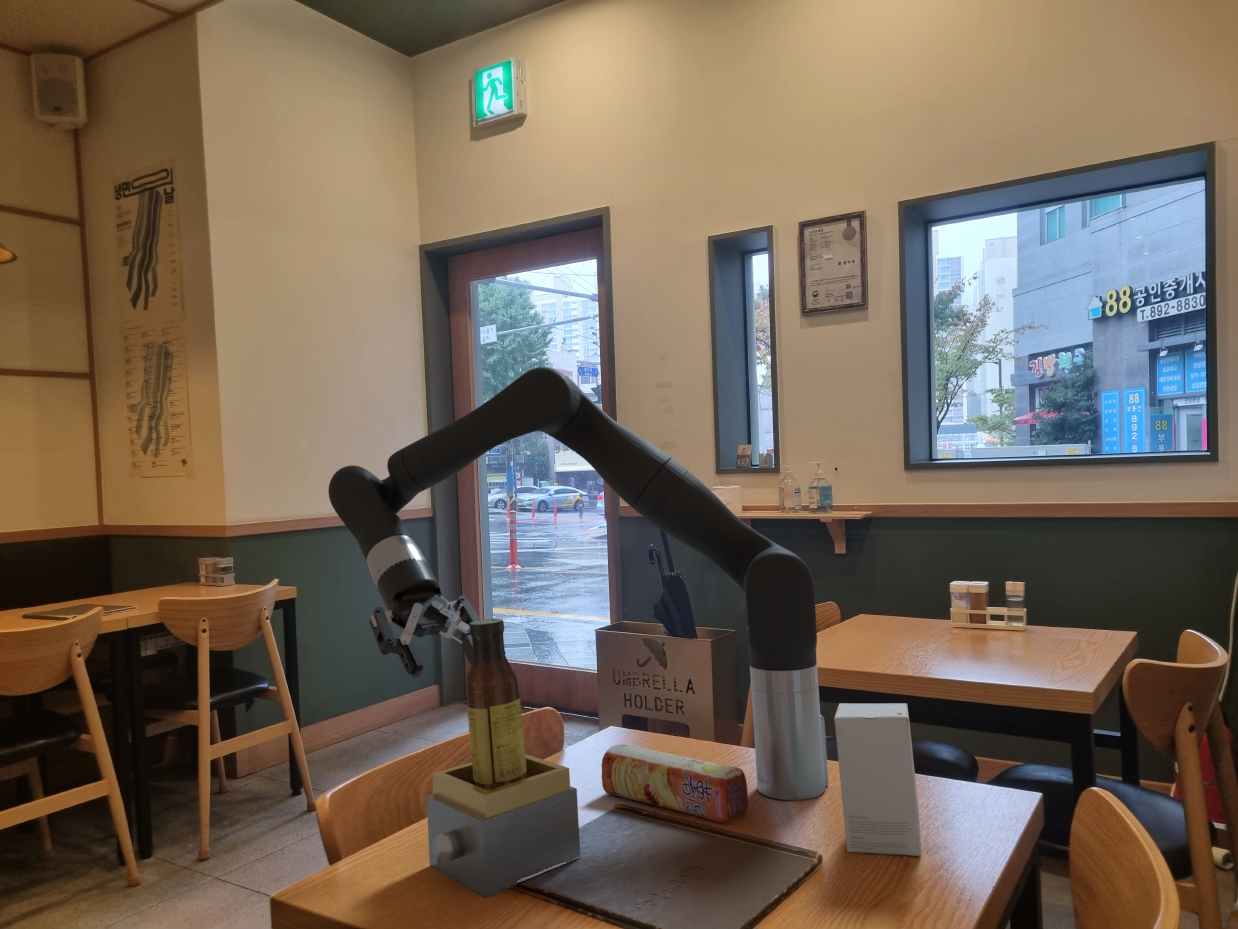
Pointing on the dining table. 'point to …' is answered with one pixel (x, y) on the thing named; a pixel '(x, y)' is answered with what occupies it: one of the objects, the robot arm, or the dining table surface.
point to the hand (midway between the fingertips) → (448, 667)
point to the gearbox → (502, 826)
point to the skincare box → (877, 779)
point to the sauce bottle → (494, 710)
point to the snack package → (675, 782)
